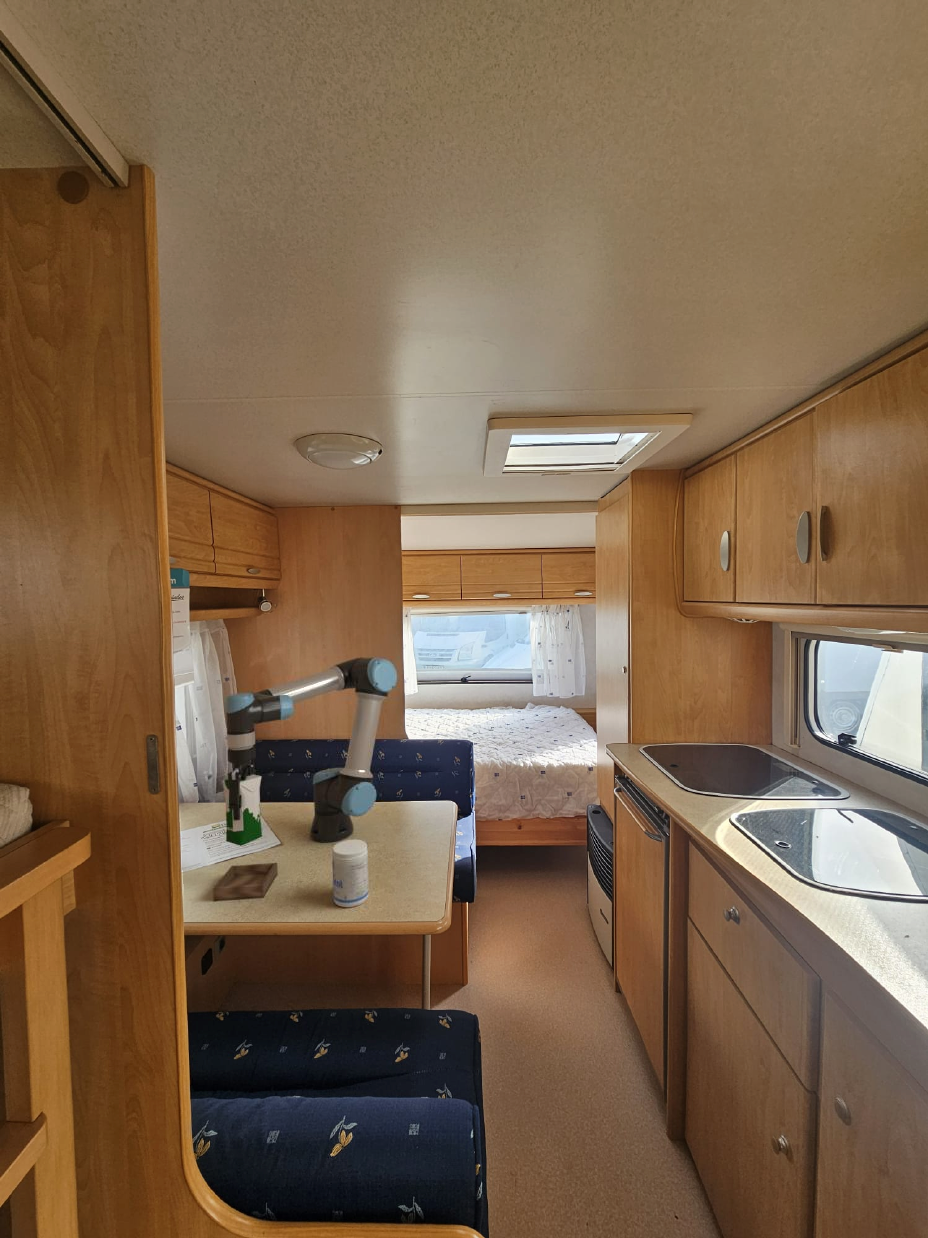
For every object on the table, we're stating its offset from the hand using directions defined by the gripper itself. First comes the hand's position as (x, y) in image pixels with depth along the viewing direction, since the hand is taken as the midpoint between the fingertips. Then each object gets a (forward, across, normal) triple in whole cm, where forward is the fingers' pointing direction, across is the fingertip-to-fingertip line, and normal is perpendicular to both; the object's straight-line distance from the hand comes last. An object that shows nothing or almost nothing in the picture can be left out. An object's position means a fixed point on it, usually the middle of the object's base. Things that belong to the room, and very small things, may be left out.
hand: (244, 824), depth 152 cm
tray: (+19, 0, 0) cm, 19 cm away
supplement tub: (+19, +11, +32) cm, 39 cm away
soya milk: (+5, 0, 0) cm, 5 cm away
